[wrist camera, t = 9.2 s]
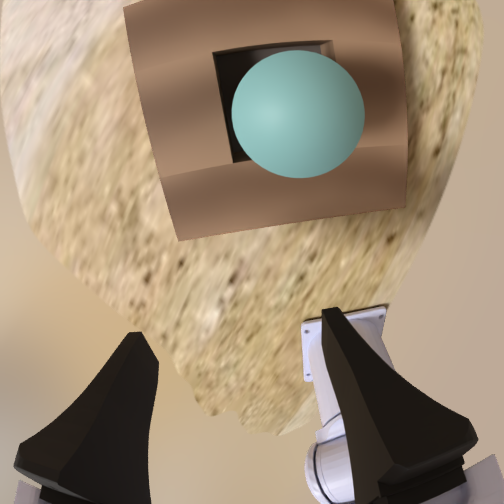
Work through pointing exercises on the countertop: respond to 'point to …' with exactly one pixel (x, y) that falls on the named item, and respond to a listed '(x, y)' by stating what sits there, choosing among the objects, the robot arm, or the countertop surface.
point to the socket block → (221, 99)
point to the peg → (298, 114)
